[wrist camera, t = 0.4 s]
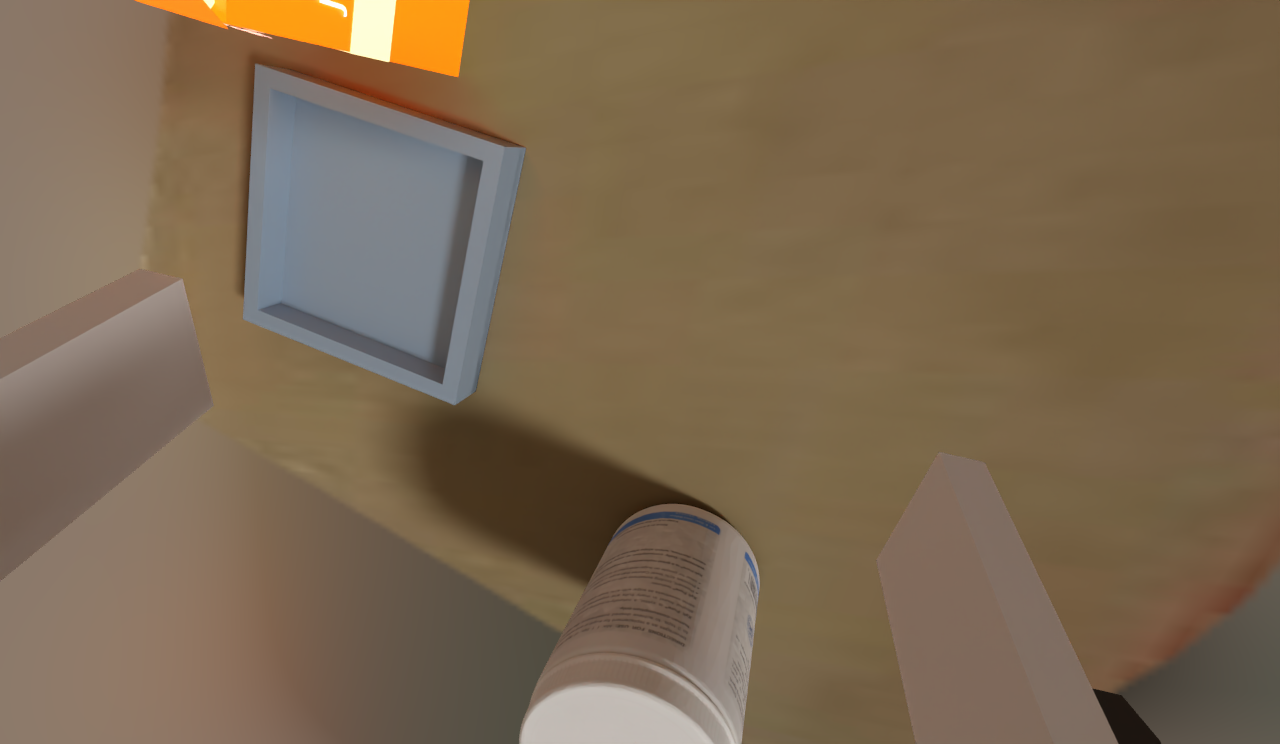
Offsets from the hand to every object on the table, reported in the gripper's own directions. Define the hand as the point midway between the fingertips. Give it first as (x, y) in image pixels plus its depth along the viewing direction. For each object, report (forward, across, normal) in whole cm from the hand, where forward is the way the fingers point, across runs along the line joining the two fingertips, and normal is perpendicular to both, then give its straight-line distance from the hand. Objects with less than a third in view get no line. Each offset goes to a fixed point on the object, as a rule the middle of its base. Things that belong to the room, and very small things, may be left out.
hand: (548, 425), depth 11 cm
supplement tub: (+19, +6, -24) cm, 31 cm away
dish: (+25, -16, -10) cm, 31 cm away
